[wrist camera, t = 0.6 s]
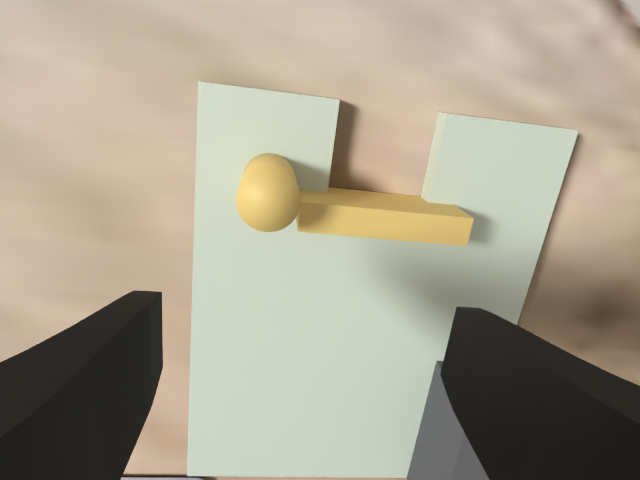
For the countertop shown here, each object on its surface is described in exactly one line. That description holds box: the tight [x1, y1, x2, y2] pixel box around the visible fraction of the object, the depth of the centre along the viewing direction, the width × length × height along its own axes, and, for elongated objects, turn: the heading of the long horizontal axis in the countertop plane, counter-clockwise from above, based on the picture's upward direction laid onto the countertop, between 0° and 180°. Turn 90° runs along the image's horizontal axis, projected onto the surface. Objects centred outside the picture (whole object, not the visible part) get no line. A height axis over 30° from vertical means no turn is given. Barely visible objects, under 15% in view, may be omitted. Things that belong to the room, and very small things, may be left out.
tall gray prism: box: [407, 361, 489, 480], centre depth 22 cm, size 8×4×4 cm, turn 173°
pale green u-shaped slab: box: [187, 81, 579, 478], centre depth 20 cm, size 20×16×4 cm
